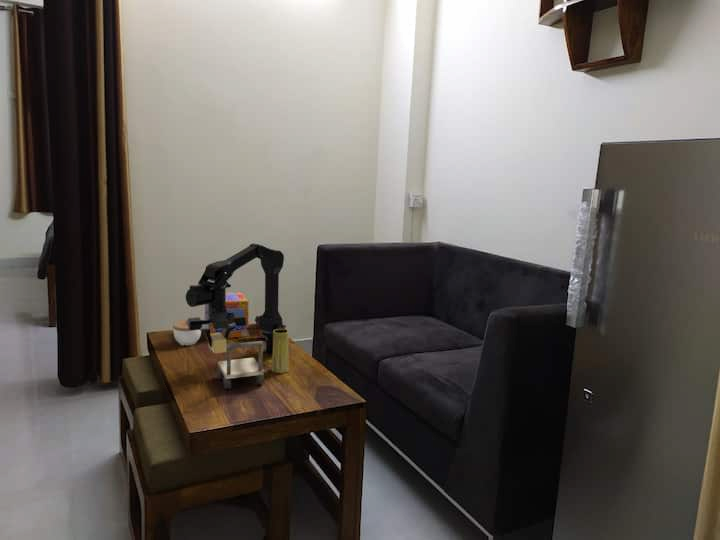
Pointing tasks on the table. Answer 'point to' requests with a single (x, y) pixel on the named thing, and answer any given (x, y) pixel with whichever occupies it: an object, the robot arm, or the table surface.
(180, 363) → the table surface
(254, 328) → the wooden carving
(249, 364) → the trolley
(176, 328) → the lidded jar
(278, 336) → the vase
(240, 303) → the game box
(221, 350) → the block
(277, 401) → the table surface
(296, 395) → the table surface
